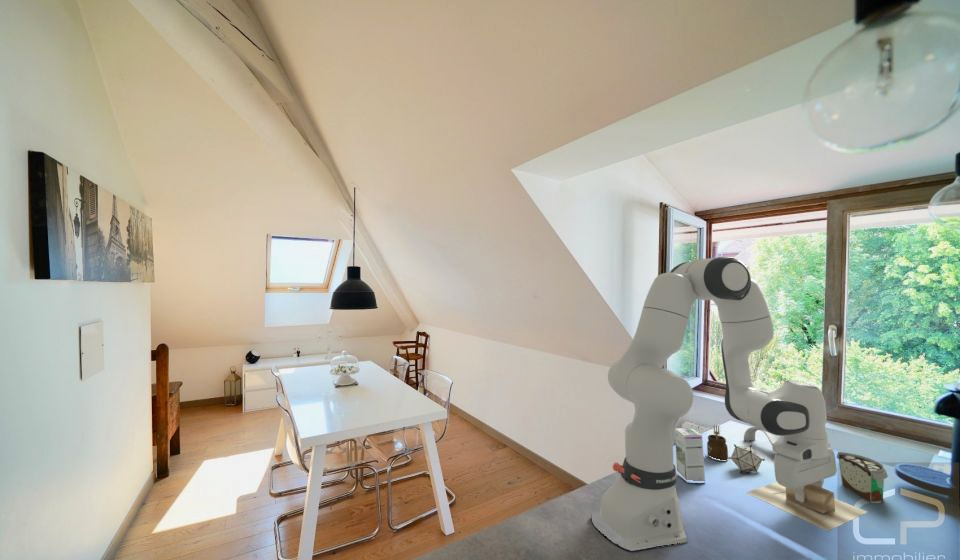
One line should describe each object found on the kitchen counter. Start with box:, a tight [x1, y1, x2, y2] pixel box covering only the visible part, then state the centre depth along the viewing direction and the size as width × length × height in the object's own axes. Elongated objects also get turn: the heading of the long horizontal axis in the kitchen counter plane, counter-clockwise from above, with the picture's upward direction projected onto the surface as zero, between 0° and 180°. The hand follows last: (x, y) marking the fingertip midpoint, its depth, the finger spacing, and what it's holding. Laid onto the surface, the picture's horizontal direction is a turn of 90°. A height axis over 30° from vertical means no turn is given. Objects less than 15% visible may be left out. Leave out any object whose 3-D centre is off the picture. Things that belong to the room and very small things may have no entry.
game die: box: [728, 444, 766, 474], centre depth 114 cm, size 9×8×10 cm
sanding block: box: [786, 484, 835, 515], centre depth 94 cm, size 5×8×4 cm, turn 21°
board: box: [746, 481, 869, 532], centre depth 95 cm, size 18×18×1 cm
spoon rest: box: [743, 426, 780, 446], centre depth 127 cm, size 24×12×7 cm, turn 11°
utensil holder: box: [706, 424, 729, 461], centre depth 124 cm, size 6×6×12 cm
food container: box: [836, 451, 889, 504], centre depth 98 cm, size 12×6×10 cm, turn 168°
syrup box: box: [674, 427, 706, 482], centre depth 111 cm, size 6×6×14 cm
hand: (808, 497), depth 94 cm, fingers closed on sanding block, 5 cm apart
